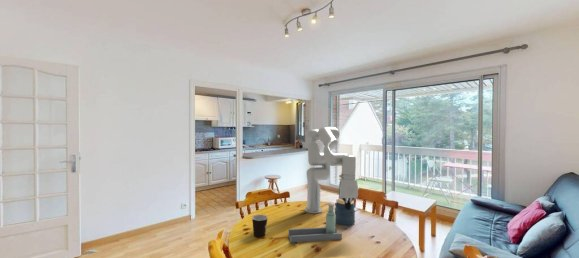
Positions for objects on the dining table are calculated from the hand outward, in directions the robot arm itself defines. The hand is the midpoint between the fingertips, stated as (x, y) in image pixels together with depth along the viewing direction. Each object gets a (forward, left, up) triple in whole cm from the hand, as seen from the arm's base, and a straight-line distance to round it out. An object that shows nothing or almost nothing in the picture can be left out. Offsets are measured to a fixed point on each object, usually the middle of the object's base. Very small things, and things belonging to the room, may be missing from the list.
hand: (347, 209), depth 134 cm
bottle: (0, -10, -15) cm, 18 cm away
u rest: (0, -19, -16) cm, 24 cm away
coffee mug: (-9, -48, -16) cm, 51 cm away
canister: (-18, +6, -16) cm, 25 cm away
